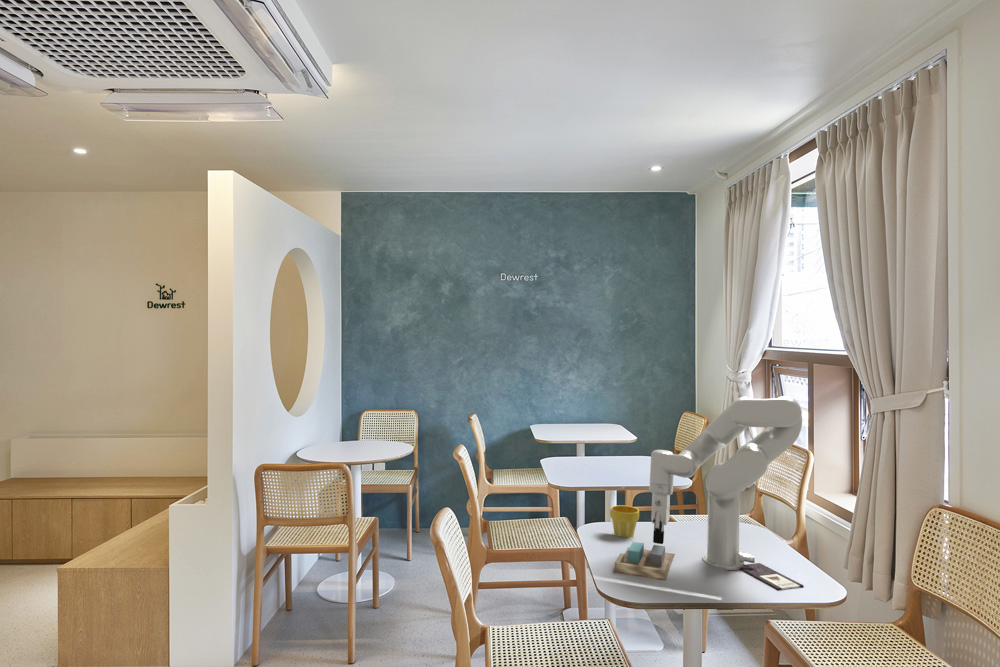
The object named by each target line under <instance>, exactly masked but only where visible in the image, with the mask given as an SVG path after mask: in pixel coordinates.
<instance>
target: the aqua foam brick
mask: <svg viewBox="0 0 1000 667" xmlns="http://www.w3.org/2000/svg"><path fill="white" fill-rule="evenodd" d="M628 547H629V549H628V548H627V549H628V562H634V563H639V562H640V560H641V558H642V556H643V554H644V550H645V549H644V548H645V543H644V542H638V541H637V542H636V541H632V542H631V544H630V546H628Z"/></svg>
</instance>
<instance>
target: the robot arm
mask: <svg viewBox="0 0 1000 667" xmlns="http://www.w3.org/2000/svg"><path fill="white" fill-rule="evenodd" d="M802 426H803V416H802V408H801V405H800V404H799V402H798V401H797V399H795V398H793V397H792V396H788V395H781V396H779V397H776V398H764V399H763V398H762V399H761V398H751V397H749V396H741V397H738V398H735V400H734V401H733V402H732V403H730V404H729V405H728V406H727V407H725V409H724V410H723V411H722V412H721V413H720V414H719V415H718V416H716V417H715V418H714V419H713V420H712V421H711V422H710V423H709V424H708V425H706V427H705V428H703V430H702V431H701V433H700V434H698V436H696V438H695V439H693V440H692V441H691V442H690V443H689V444H688V445H687V446H686V447H685V448H683V450H681V451H680V453H678V454H677V453H676V454H674V453H673V451H670V450H667V449H654V450H653V451H651V455H650V468H649V469H650V472H649V473H650V474H649V487H648V488H649V489H648V491H649V492H650V493H651V494H652V495H651V496H652V497H651V517H650V518H651V519H650V521H651V524H653V525H654V526H653V533H652V534H653V536H652V537H653V538H652V542H653V543H654V544H657V545H663V544H664V539H665V538H664V537H665V530H664V528H665V526H667V524H668V523H669V521H670V516H671V515H670V510H671V509H670V506H671V502H670V500H671V495H673V492H674V490H673V489H674V476H676V477H679V478H683V479H684V478H685V479H689V478H691V477H693V476H694V475H695V474H696V473H697V471H698V469H699V468H700V467H701V466H702V465H703V464H704V463H705V462H707V460H708V459H710V458H711V457H713V455H715V454H716V453H717V452H718V451H720V450H723V449H725V448H726V447H727V446H729V445H730V444H731V443H732V442H733V441H734V440H736V438H737V437H739V436H740V435H741V434H742V433H743V432H744V431H746V429H747V428H764V430H762V431H761V432H760V433H759V434H758V435H756V436H754V437H753V438H752V439H751V440H749V441H748V442H746V443H745V444H743V445H741V446H740V447H739V448H738V449H737V450H736V452H735V454H734V455H732V456H731V457H730V458H728V459H727V460H725V461H724V462H719V463H716V464H714V465H712V467H710V469H709V471H708V474H707V475H706V478H705V488H706V491H707V531H706V532H707V535H706V536H707V540H706V541H707V544H706V545H707V546H706V548H707V552H706V553H705V554H703V555H702V557H701V559H702V561H703V562H704V563H706V564H707V565H709V566H713V567H717V568H722V569H724V570H726V571H737V570H740V569H741V568H742V567H744V565H745V562H747V563H749V564H755V561H756V560H755V556H752V555H751V554H750V553H743V552H742V551H741V548H740V513H741V512H740V508H741V507H740V506H741V505H740V503H741V500H740V498H741V496H740V495H741V493H742V492H744V491H745V490H746V489H748V488H749V487H750V486H752V485H753V484H755V482H757V481H759V479H761V478H762V477H763V476H764V475H765V474H766V472H767V470H768V466H769V465H770V464H771V463H772V462H774V460H776V459H778V457H780V456H781V455H782V454H784V452H786V451H787V450H789V449H790V448H791V447H792V446H793V445H794V444H795V442H796V441H797V440H798V439H799V436H800V433H801V431H802Z"/></svg>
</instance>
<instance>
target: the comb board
mask: <svg viewBox="0 0 1000 667" xmlns="http://www.w3.org/2000/svg"><path fill="white" fill-rule="evenodd" d="M629 547H630V546H628V548H627V549H625V550H626V551H625V552H624V553H619V555H618V556H617V558H616V559H615V562H614V563H613V564H614V567H613V568H614V569H613V570H614V571H613V573H617V574H623V575H629V576H636V577H640V578H641V577H642V578H647V579H654V580H659V581H660V580H661V581H667V578H668V576H669V573H670V570H671V567H672V564H673V562H674V557H675V556H676V554H675V553H671V552H665V559H664V561H663V564H662V566H661V567H660V566H654V565H650V552H651V550H652V549H651V550H650V549H644V554H643V556H642V558H641V560H640V562H639V563H634V562H628V549H629Z"/></svg>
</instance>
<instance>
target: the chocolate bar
mask: <svg viewBox="0 0 1000 667" xmlns="http://www.w3.org/2000/svg"><path fill="white" fill-rule="evenodd" d="M739 570H740V571H742V572H743V573H745V574H747V575H749V576H750V577H753V578H755V579H756V580H758V581H760V582H761V583H764V584H766V585H767V586H769V587H771V588H773V589H774V588H775V590H777V591H783V590H790V589H799V588H804V584H802V583H800V582H798V581H796V580H793V579H792V578H790V577H788V576H786V575H784V574H782V573H780V572H778V571H776V570H774V569H772V568H770V567H769V566H766V565H765V564H763V563H760V562H758V563H757V562H756V563H747V564H744V567H742V568H741V569H739Z"/></svg>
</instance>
